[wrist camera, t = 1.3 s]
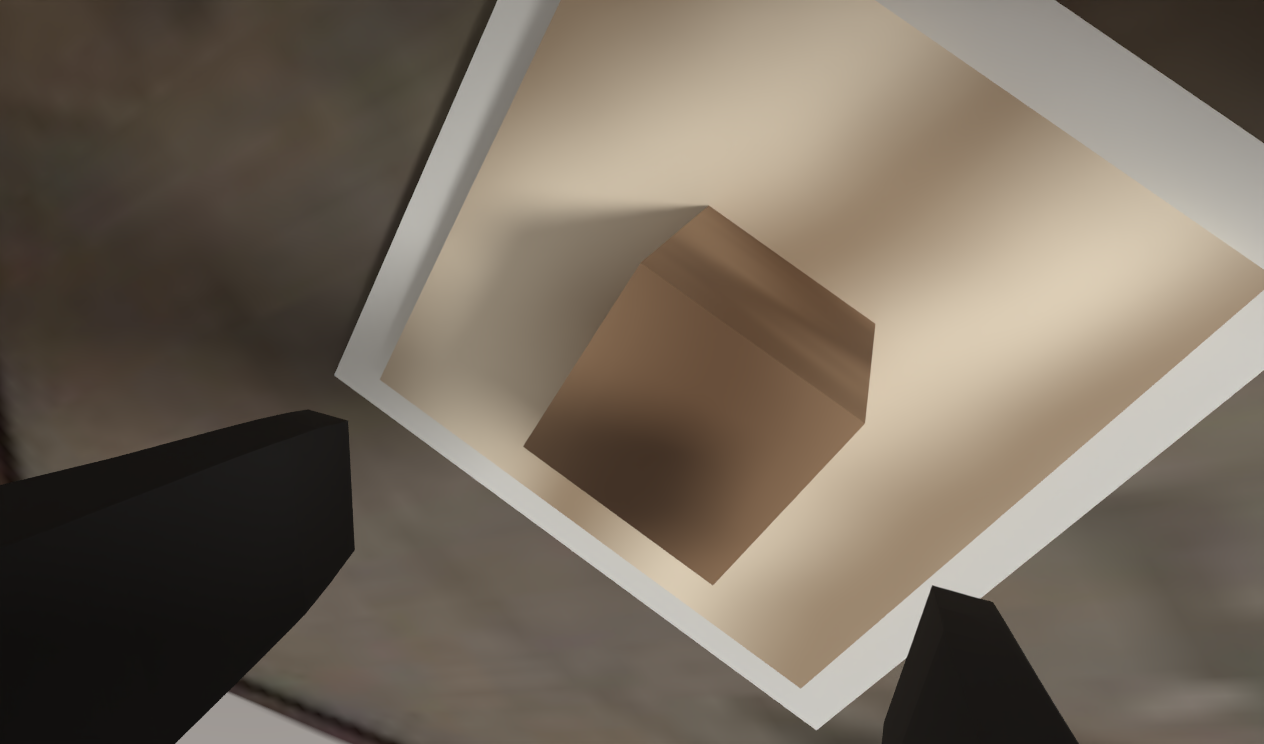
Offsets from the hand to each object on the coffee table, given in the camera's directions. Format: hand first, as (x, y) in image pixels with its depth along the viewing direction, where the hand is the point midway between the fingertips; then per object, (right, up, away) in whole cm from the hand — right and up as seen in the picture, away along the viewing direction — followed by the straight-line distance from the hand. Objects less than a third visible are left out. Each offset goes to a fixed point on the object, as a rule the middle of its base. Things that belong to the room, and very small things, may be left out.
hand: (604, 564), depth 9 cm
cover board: (+3, +3, +8) cm, 9 cm away
